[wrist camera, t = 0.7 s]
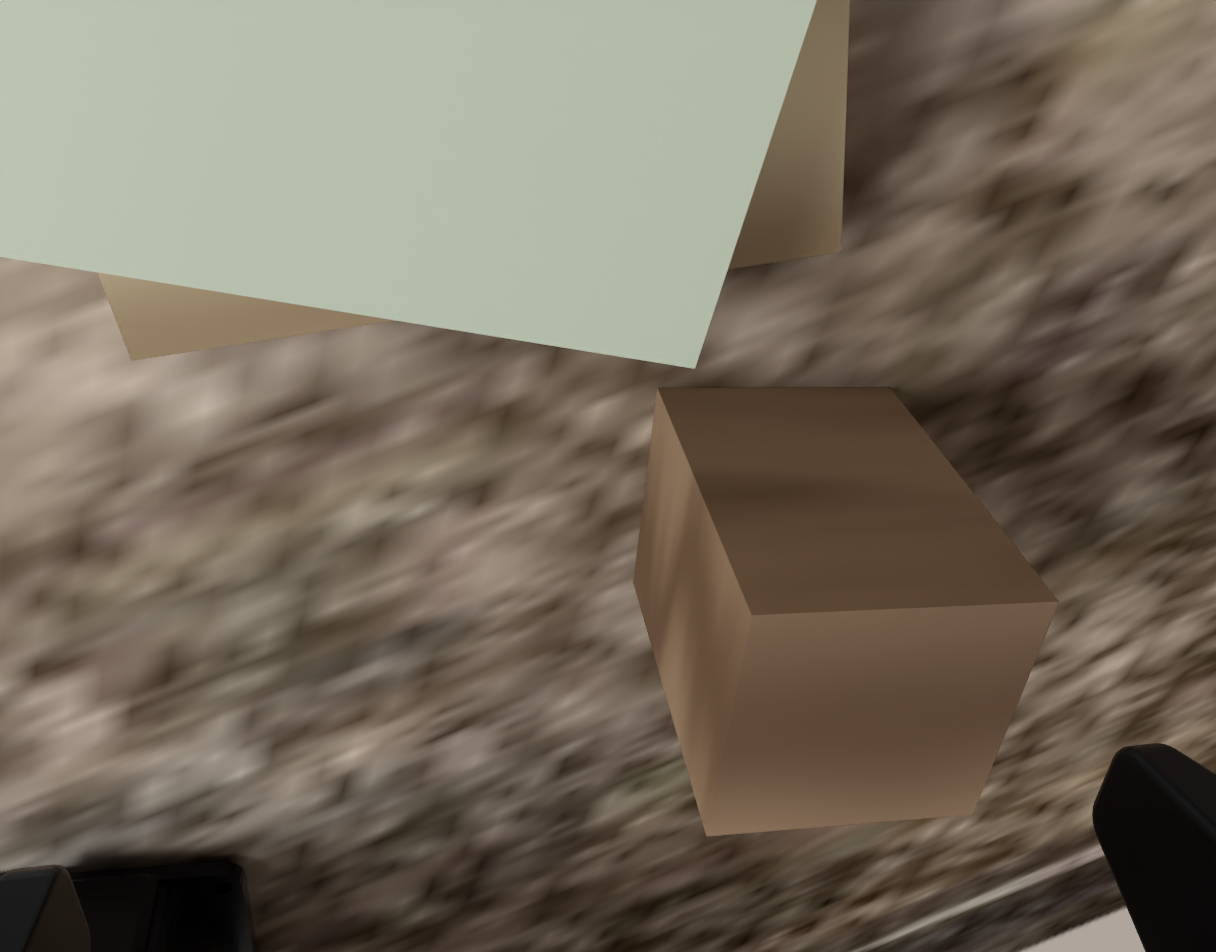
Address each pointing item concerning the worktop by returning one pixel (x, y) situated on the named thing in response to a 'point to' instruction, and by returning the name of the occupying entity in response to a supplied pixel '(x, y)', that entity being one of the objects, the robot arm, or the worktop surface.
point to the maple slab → (771, 232)
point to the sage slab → (402, 154)
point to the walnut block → (827, 609)
